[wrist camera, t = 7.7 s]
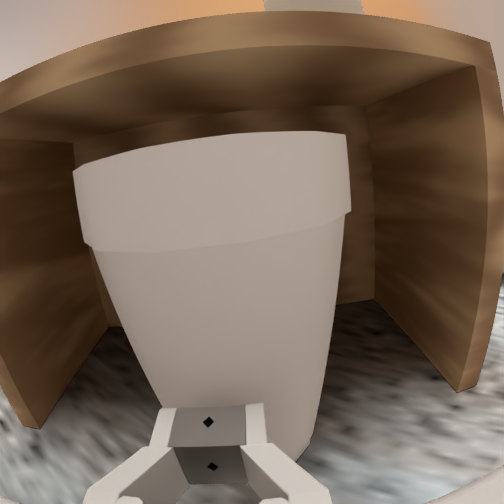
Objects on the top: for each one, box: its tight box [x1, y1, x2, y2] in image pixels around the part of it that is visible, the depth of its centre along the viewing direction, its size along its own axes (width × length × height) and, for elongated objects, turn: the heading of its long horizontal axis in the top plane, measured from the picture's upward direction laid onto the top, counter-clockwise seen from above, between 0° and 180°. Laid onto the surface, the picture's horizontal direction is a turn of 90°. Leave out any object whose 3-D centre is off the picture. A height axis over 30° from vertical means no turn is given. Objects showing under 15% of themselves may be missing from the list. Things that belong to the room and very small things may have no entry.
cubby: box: [0, 11, 504, 429], centre depth 19 cm, size 27×15×18 cm, turn 92°
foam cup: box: [73, 131, 351, 462], centre depth 13 cm, size 10×9×13 cm
